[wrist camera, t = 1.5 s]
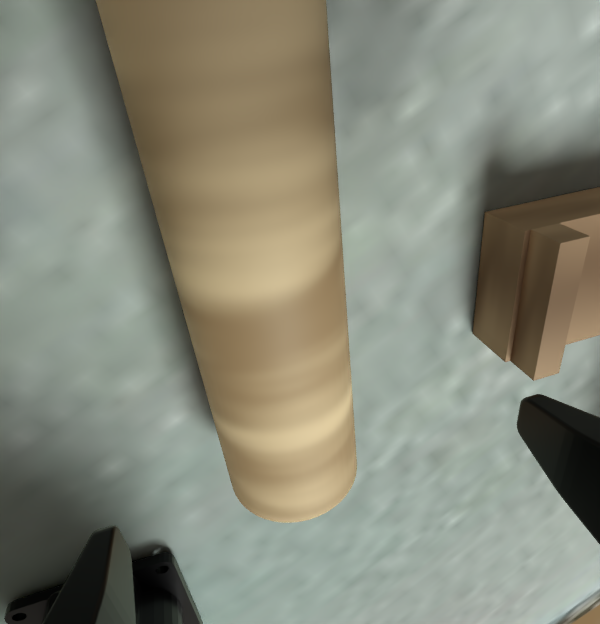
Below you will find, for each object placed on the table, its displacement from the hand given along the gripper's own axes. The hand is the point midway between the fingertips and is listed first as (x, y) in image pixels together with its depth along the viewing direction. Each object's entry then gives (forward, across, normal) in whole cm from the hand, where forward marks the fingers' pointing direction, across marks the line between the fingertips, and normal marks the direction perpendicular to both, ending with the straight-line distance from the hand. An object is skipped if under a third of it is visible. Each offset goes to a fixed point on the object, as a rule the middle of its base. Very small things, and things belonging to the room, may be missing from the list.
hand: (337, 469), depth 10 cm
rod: (+7, 0, -3) cm, 7 cm away
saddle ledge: (+7, -12, 0) cm, 14 cm away
